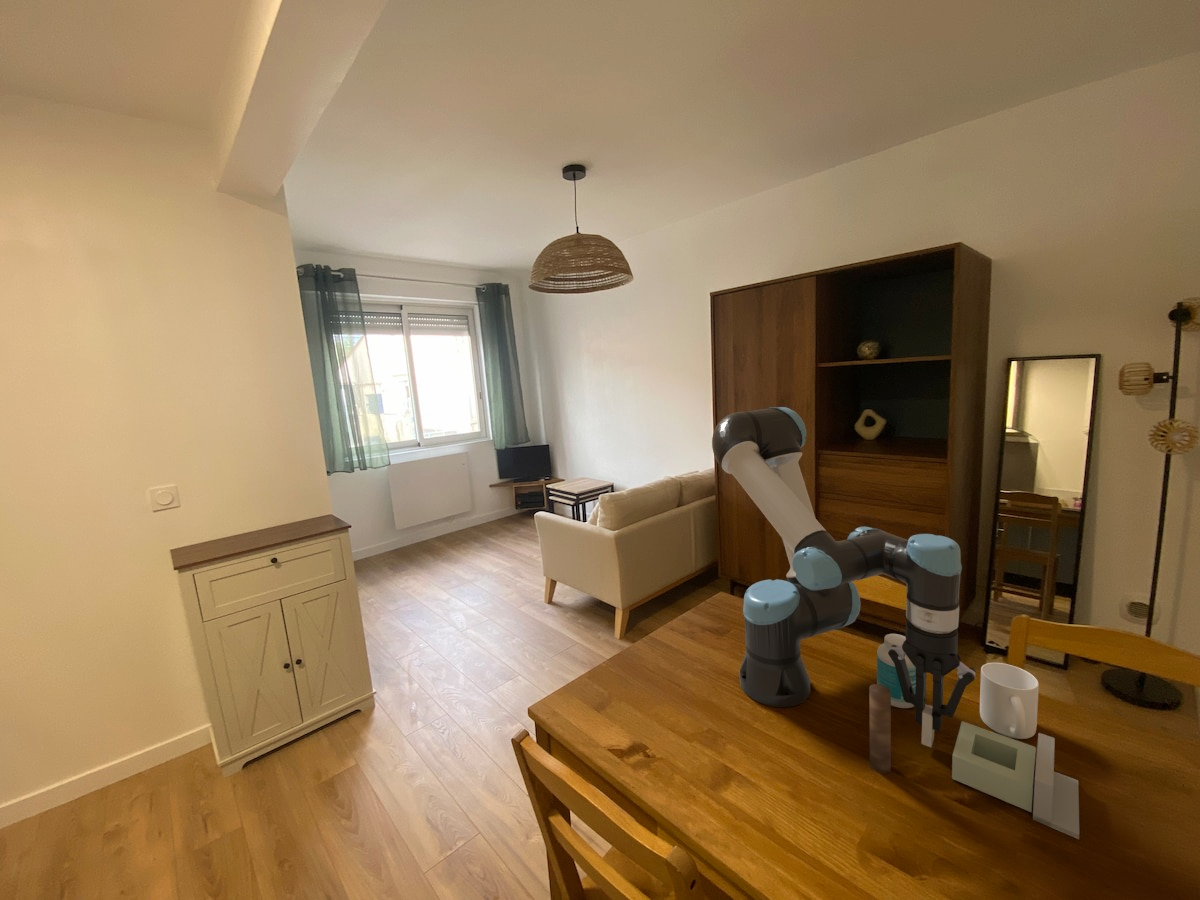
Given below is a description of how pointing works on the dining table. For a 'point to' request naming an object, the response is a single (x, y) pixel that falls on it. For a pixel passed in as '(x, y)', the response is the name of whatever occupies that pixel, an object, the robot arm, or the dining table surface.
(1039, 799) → the grey l-shaped piece
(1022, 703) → the mug
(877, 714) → the dowel
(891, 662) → the pill bottle
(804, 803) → the dining table surface
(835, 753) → the dining table surface
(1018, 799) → the block
